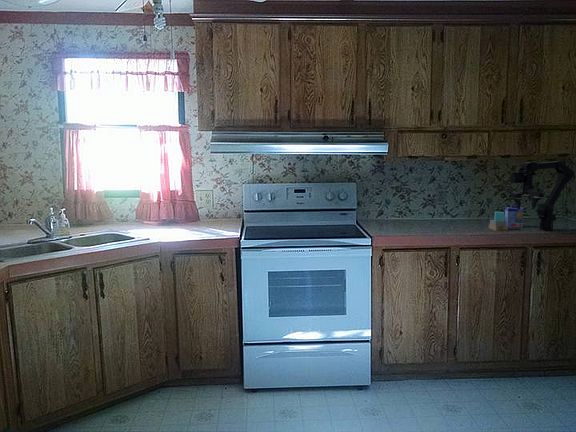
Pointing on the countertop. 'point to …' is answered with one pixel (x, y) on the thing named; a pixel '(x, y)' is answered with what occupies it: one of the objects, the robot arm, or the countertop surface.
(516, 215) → the ink cartridge box
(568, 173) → the robot arm
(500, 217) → the teal cube
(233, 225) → the countertop surface
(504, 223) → the tower top
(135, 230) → the countertop surface
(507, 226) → the tower base
